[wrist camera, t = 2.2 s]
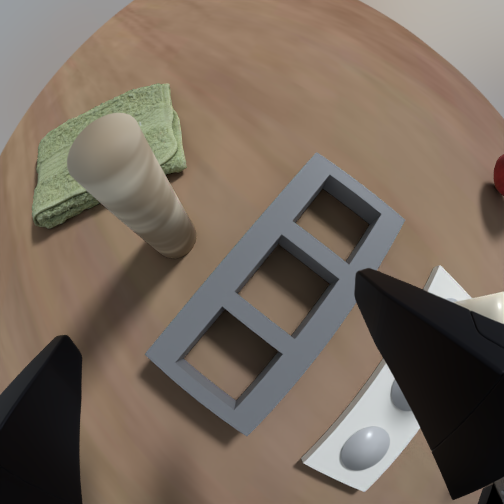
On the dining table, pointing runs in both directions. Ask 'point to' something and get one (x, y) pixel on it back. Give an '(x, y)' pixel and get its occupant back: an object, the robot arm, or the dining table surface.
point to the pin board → (226, 297)
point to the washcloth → (61, 139)
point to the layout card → (384, 408)
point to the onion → (499, 175)
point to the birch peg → (131, 183)
